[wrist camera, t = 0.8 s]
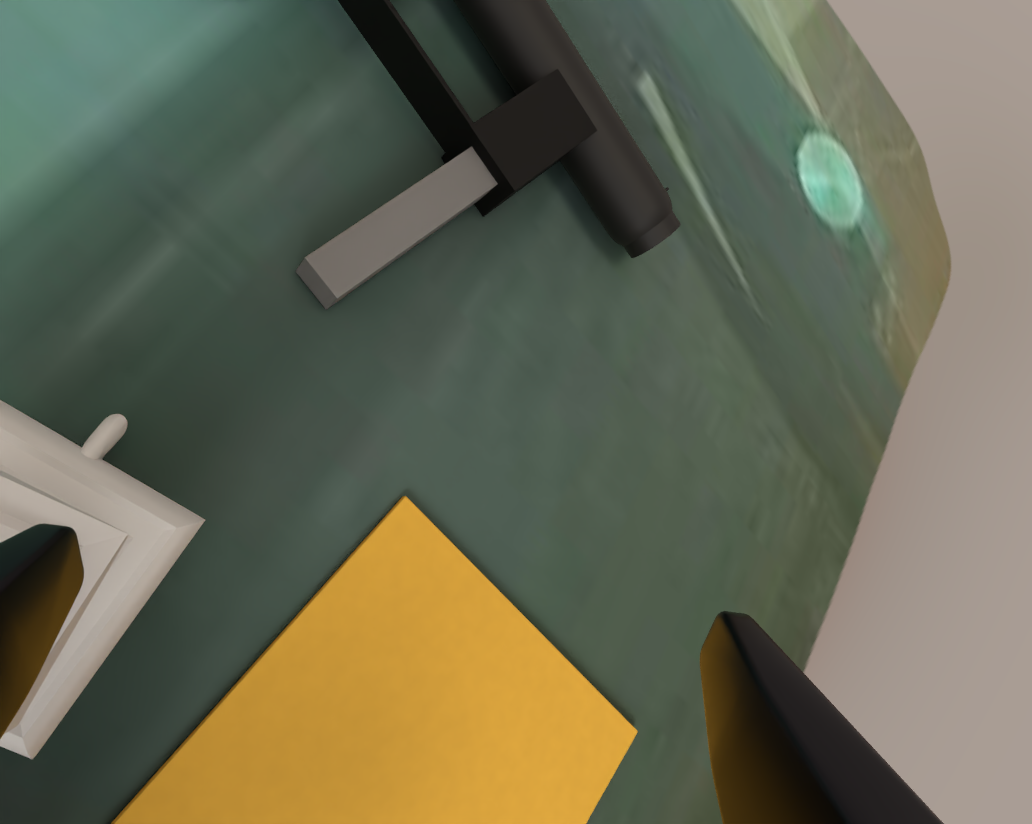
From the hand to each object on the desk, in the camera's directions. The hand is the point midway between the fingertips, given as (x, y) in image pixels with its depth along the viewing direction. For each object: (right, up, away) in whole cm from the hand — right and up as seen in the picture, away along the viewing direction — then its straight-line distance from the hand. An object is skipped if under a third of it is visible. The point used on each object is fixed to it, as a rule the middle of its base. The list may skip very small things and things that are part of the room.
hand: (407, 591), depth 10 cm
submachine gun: (-3, +14, +17) cm, 23 cm away
